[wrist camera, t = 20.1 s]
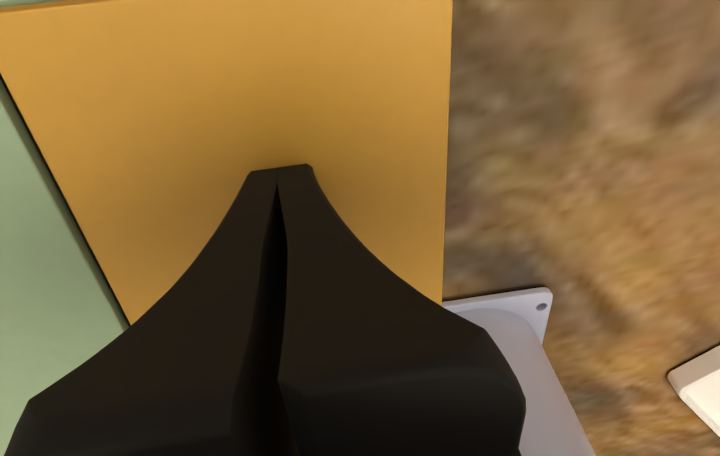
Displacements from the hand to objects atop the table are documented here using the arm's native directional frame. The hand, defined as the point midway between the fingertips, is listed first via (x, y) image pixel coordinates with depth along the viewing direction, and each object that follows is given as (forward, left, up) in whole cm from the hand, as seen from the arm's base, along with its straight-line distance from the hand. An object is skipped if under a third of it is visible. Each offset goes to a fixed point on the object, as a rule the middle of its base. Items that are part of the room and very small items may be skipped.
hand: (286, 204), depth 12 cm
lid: (-2, 0, -1) cm, 2 cm away
